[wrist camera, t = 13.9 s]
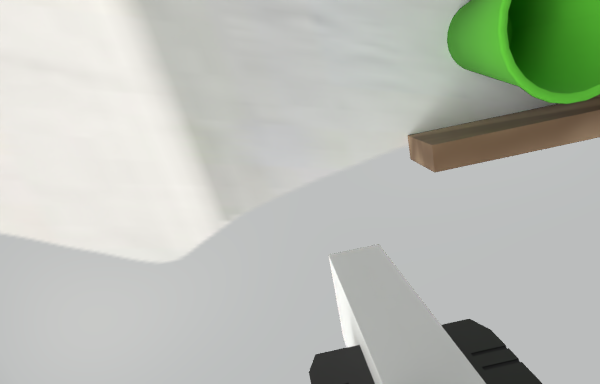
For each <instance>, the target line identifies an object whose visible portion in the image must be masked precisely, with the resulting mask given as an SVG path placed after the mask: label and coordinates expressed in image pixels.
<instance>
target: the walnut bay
mask: <svg viewBox="0 0 600 384" xmlns="http://www.w3.org/2000/svg"><path fill="white" fill-rule="evenodd" d="M597 137H600V95H598V96H595V97H593V98H591V99H588V100H586V101H582V102H576V103H571V104H556V105H551V106H546V107H541V108H537V109H532V110H527V111H522V112H518V113H513V114H508V115H503V116H499V117H494V118H489V119H484V120H479V121H475V122H470V123H465V124H460V125H456V126H451V127H446V128H441V129H437V130H432V131H427V132H422V133H417V134H413V135H408V142H409V150H410V158H411V160H413V161H415V162H417V163H419V164H420V165H422V166H424V167H426V168H428V169H430V170H431V171H433V172H439V171H444V170H448V169H453V168H458V167H462V166H467V165H472V164H476V163H481V162H485V161H490V160H495V159H500V158H504V157H509V156H514V155H518V154H523V153H528V152H532V151H537V150H542V149H547V148H551V147H556V146H561V145H565V144H570V143H574V142H579V141H584V140H588V139H593V138H597Z"/></svg>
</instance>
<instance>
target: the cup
mask: <svg viewBox="0 0 600 384" xmlns="http://www.w3.org/2000/svg"><path fill="white" fill-rule="evenodd" d="M447 43H448V48H449V52H450V54H451V56H452V58H453V59H454V60H455V62H456V63H457V64H458V65H460V66H461V67H462V68H464V69H467V70H470V71H473V72H476V73H479V74H482V75H485V76H488V77H491V78H494V79H497V80H500V81H504V82H507V83H510V84H513V85H516V86H519V87H520V88H522V89H523V90H524V91H526V92H527V93H529V94H530V95H531V96H533V97H535V98H538V99H540V100H543V101H546V102H549V103H559V104H571V103H576V102H582V101H586V100H588V99H591V98H593V97H595V96H598V95H600V0H471V1H469V2H468V3H467V4H466V5H464V6H463V7H462V8H460V9H459V11H458V12H457V13H456V14H455V15H454V17H453V19H452V21H451V23H450V26H449V30H448V37H447Z"/></svg>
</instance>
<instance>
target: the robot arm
mask: <svg viewBox="0 0 600 384" xmlns="http://www.w3.org/2000/svg"><path fill="white" fill-rule="evenodd" d="M329 260H330V266H331V271H332V277H333V282H334V288H335V294H336V299H337V305H338V311H339V316H340V322H341V327H342V333H343V337H344V340H345V344H346V346H347V348H343V349H339V350H334V351H330V352H325V353H320V354H316V355H315V357H314V360H313V363H312V366H311V368H310V371H309V374H310V380H311V384H542V383H541V382H540V381H539V380H538V379H537V378H536V376H535V375H534V374H533V373H532V372H531V371H530V370H529V369H528V368H527V367H526V366H525V365H524V364H523V363H522V362H519V360H518V358H517V357H516V356H515V355H514V354H513V353H512V351H511V350H510V349H507V348H506V345H505V344H504V343H503V342H502V341H501V340H500V339H499V338H498V337H497V336H496V335H495V334H494V333H493V332H492V331H491V330H490V329H488V328H486V327H484V326H482V325H480V324H478V323H477V322H475V321H473V320H471V319H466V320H462V321H457V322H453V323H448V324H444V325H441V324H440V323H439V322H438V321H437V319H436V318H435V317H434V315H433V314H432V313H431V311H430V310H429V309H428V308H427V306H426V305H425V304H424V302H423V301H422V300H421V298H420V297H419V296H418V295H417V293H416V292H415V291H414V289H413V288H412V287H411V286H410V284H409V283H408V282H407V280H406V279H405V278H404V276H403V275H402V274H401V273H400V272H399V270H398V269H397V267H396V266H395V265H394V263H393V262H392V261H391V260H390V258H389V257H388V256H387V254H386V253H385V252H384V250H383V249H382V248H381V246H380V245H379V244H378V245H373V246H368V247H363V248H359V249H354V250H349V251H345V252H340V253H335V254H330V255H329Z"/></svg>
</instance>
